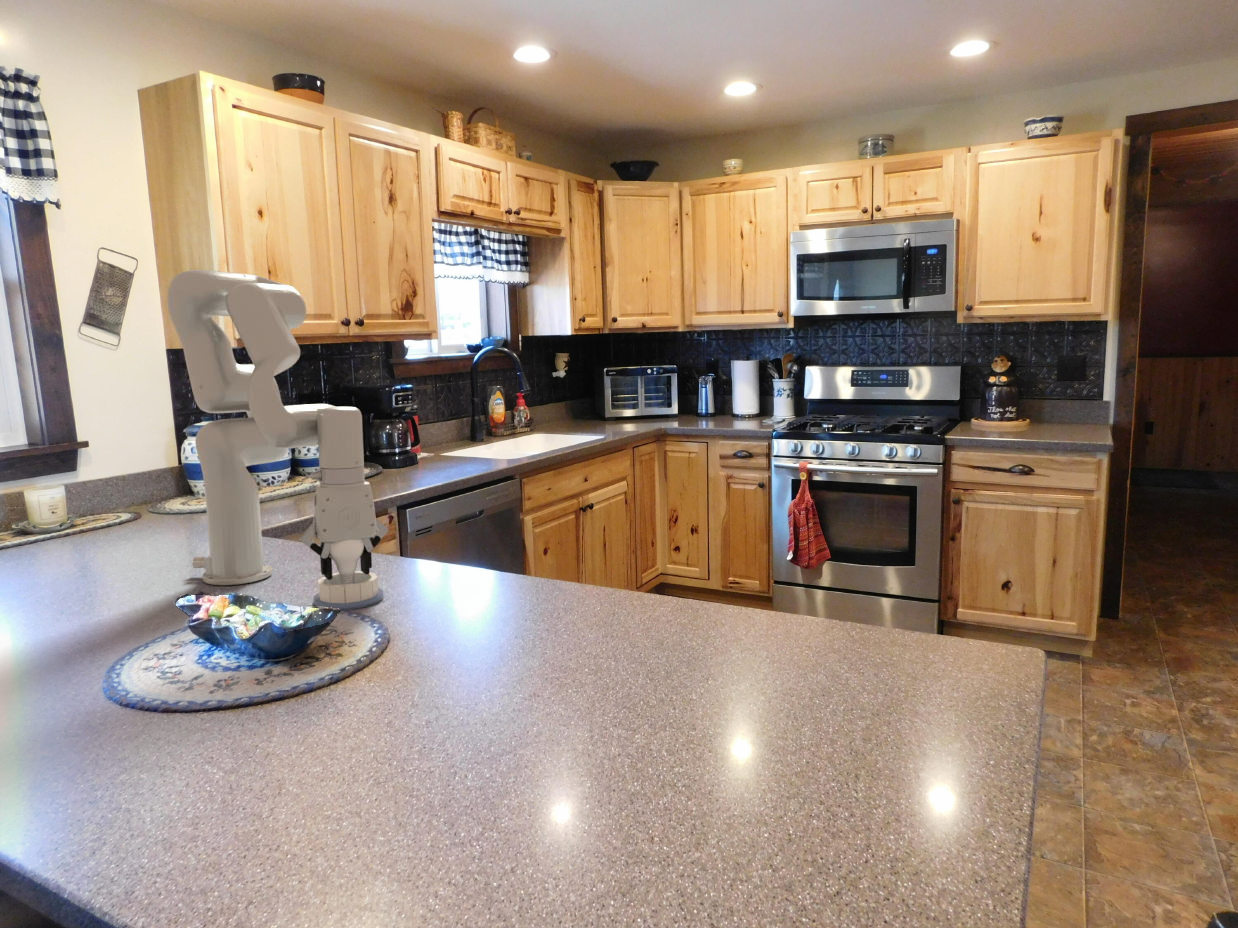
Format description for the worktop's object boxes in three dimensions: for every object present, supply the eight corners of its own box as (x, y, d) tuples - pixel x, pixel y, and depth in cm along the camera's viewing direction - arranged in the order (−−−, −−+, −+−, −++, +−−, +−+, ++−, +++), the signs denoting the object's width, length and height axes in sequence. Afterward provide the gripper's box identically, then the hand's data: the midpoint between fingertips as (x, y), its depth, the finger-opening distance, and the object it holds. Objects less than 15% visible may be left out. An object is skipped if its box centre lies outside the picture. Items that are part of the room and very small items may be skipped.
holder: (301, 609, 142) (300, 587, 141) (329, 590, 153) (328, 569, 153) (369, 610, 141) (368, 588, 140) (392, 590, 153) (391, 570, 152)
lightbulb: (371, 583, 150) (368, 525, 148) (357, 593, 144) (354, 532, 142) (338, 582, 150) (335, 524, 149) (323, 593, 144) (319, 532, 143)
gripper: (295, 483, 136) (301, 587, 139) (396, 475, 146) (400, 573, 148) (286, 477, 143) (292, 577, 145) (384, 470, 152) (387, 564, 154)
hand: (347, 574), depth 147 cm, fingers closed on lightbulb, 5 cm apart
